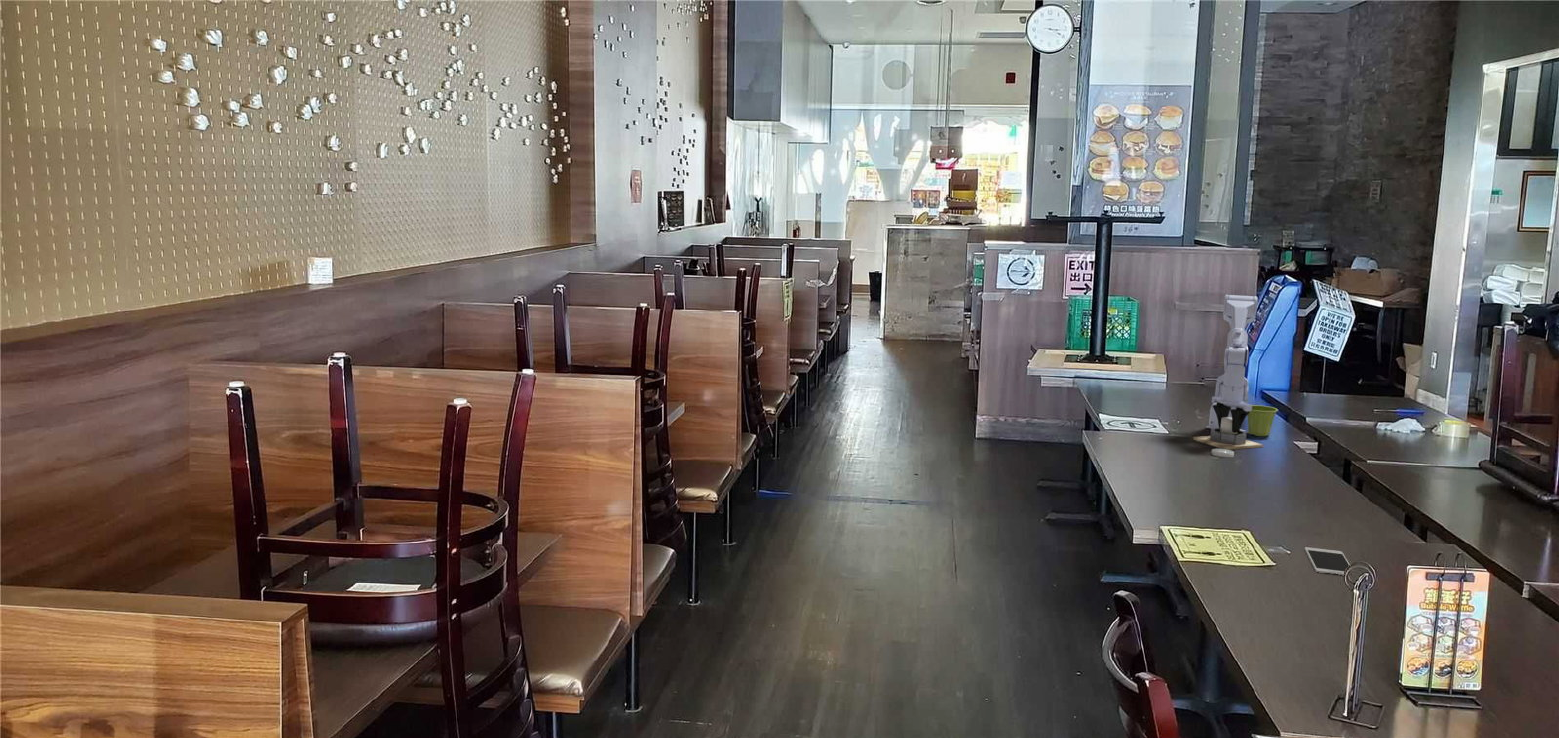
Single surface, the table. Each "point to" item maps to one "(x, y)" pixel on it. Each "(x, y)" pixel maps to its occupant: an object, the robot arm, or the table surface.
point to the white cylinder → (1226, 425)
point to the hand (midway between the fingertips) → (1228, 430)
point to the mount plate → (1228, 446)
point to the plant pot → (1261, 420)
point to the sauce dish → (1223, 453)
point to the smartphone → (1327, 560)
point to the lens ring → (1228, 437)
